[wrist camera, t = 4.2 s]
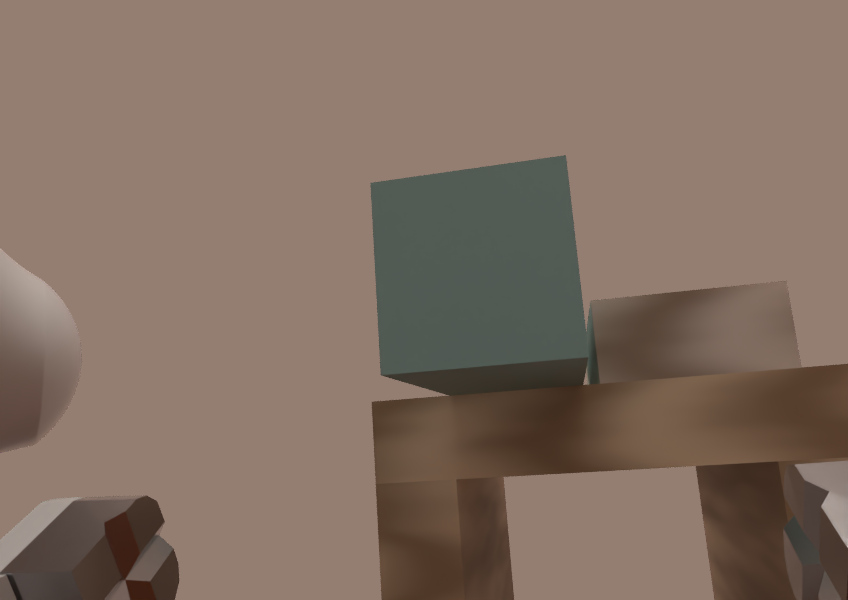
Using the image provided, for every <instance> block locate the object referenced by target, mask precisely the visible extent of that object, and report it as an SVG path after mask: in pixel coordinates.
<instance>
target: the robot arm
mask: <svg viewBox="0 0 848 600" xmlns="http://www.w3.org/2000/svg"><path fill="white" fill-rule="evenodd" d="M81 357H82V354H81V343H80V339H79V334H78V330H77V328H76V325H75V322H74V319H73V317H72V316H71V314H70V312H69V310H68V309H67V307H66V305H65V304H64V302H63V301H62V300H61V298H60V297H59V296H58V295H57V293H56V292H55V291H54V290H53V289H52V288H51V287H50V286H49V285H48V284H47V283H46V282H44V281H43V280H41V279H40V278H38V277H37V276H35V275H33V274H32V273H30V272H29V271H27V270H26V269H24V268H23V267H22V266H20V265H19V264H18V263H17V262H15V261H14V260H13V259H12V258H11V257H9V256H8V255H7V254H6V253H5V252H4V251H3V250H2V249H1V248H0V453H2V452H6V451H11V450H14V449H19V448H23V447H27V446H31V445H34V444H36V443H37V442H38V441H39V440H41V438H43V437H44V436H45V435H46V434H47V433H48V432H49V431H50V430H51V429H52V428H53V427H54V426H55V425H56V423H57V422H58V421H59V419H60V418H61V417H62V416H63V414H64V413H65V411H66V409H67V408H68V406H69V404H70V402H71V400H72V398H73V395H74V394H75V391H76V388H77V385H78V381H79V376H80V371H81V361H82V358H81ZM784 497H785V499H786V501H787V503H788V505H789V506H790V508H791V510H792V512H793V514H794V516H793V517H792V518H791V520H790V521H789V522H788V523H787V524H786V525H785V527H784V528H783V532H784V555H785V561H786V567H787V573H788V578H789V581H790V584H791V587H792V590H793V593H794V596H795V598H796V600H848V461H833V462H819V463H805V464H790V465H787V466H786V471H785V475H784ZM164 522H165V521H164V519H163V516H162V513H161V510H160V508H159V505H158V503H157V501H156V500H154V499H152V498H150V497H148V496H113V497H85V498H81V497H74V498H60V499H52V500H48V501H44V502H42V503H41V504H39V505H38V506H37V507H36V508H35V509H34V510H33V511H32V512H31V513H29V514H28V515H27V516H26V517H25V518H24V519H23V520H22V521H21V522H19V523H18V524H17V525H16V526H15V527H14V528H13V529H12V530H11V531H10V532H8V533H7V534H6V535H5V536H4V537H3V538H2V539H1V540H0V600H175V596H176V592H177V588H178V584H179V569H178V561H177V558H176V555H175V552H174V549H173V548H172V547H171V546H170V545H169V544H168V543H167V542H166V541H165V540H164V539H163V538H161V537H160V536H159V534H160V532H161V529H162V527H163V524H164Z"/></svg>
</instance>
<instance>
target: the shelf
mask: <svg viewBox="0 0 848 600" xmlns="http://www.w3.org/2000/svg"><path fill="white" fill-rule="evenodd" d="M586 337H587V345H588V354H589V359H588V363H587V368H586V376H587V385H578V386H565V387H553V388H540V389H528V390H515V391H502V392H490V393H477V394H465V395H452V396H440V397H428V398H414V399H402V400H389V401H377V402H372V416H373V436H374V456H375V476H376V496H377V515H378V535H379V555H380V573H381V574H380V575H381V593H382V594H381V595H382V600H514V594H513V582H512V572H511V560H510V548H509V536H508V524H507V513H506V501H505V490H504V478H503V477H508V476H525V475H544V474H561V473H579V472H597V471H615V470H632V469H650V468H668V467H686V466H696V471H697V477H698V485H699V492H700V499H701V506H702V514H703V521H704V528H705V535H706V542H707V549H708V556H709V563H710V570H711V578H712V585H713V592H714V599H715V600H796V598H795V596H794V593H793V590H792V587H791V584H790V581H789V578H788V573H787V567H786V561H785V555H784V532H783V528H784V527H785V525H786V524H787V523H788V522H789V521H790V520H791V518H792V517H793V516H794V514H793V512H792V510H791V508H790V506H789V505H788V503H787V501H786V499H785V497H784V475H785V471H786V466H787V465H790V464H805V463H819V462H833V461H848V364H841V365H829V366H817V367H804V368H802V367H801V362H800V356H799V350H798V345H797V339H796V333H795V327H794V322H793V316H792V310H791V305H790V299H789V293H788V287H787V282H786V281H780V282H770V283H760V284H750V285H740V286H731V287H721V288H712V289H703V290H702V289H701V290H692V291H682V292H672V293H662V294H652V295H642V296H633V297H623V298H615V299H614V298H613V299H603V300H593V301H591V302H590V309H589V316H588V324H587V331H586Z"/></svg>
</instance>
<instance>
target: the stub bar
mask: <svg viewBox="0 0 848 600" xmlns="http://www.w3.org/2000/svg"><path fill="white" fill-rule="evenodd" d="M371 200H372V219H373V237H374V256H375V273H376V294H377V312H378V331H379V348H380V368H381V375H382V376H385V377H389V378H392V379H395V380H399V381H402V382H406V383H409V384H413V385H416V386H419V387H422V388H426V389H429V390H433V391H436V392H439V393H443V394H446V395H450V396H452V395H465V394H477V393H490V392H502V391H515V390H528V389H540V388H553V387H565V386H578V385H583V382H584V377H585V373H586V368H587V363H588V359H589V354H588V345H587V337H586V329H585V320H584V311H583V302H582V293H581V285H580V276H579V267H578V258H577V250H576V241H575V231H574V222H573V215H572V205H571V196H570V187H569V179H568V170H567V161H566V156H565V155H564V156H557V157H550V158H543V159H537V160H529V161H522V162H515V163H508V164H501V165H494V166H487V167H480V168H474V169H466V170H459V171H452V172H445V173H438V174H430V175H424V176H416V177H409V178H403V179H395V180H389V181H381V182H374V183H371Z"/></svg>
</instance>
